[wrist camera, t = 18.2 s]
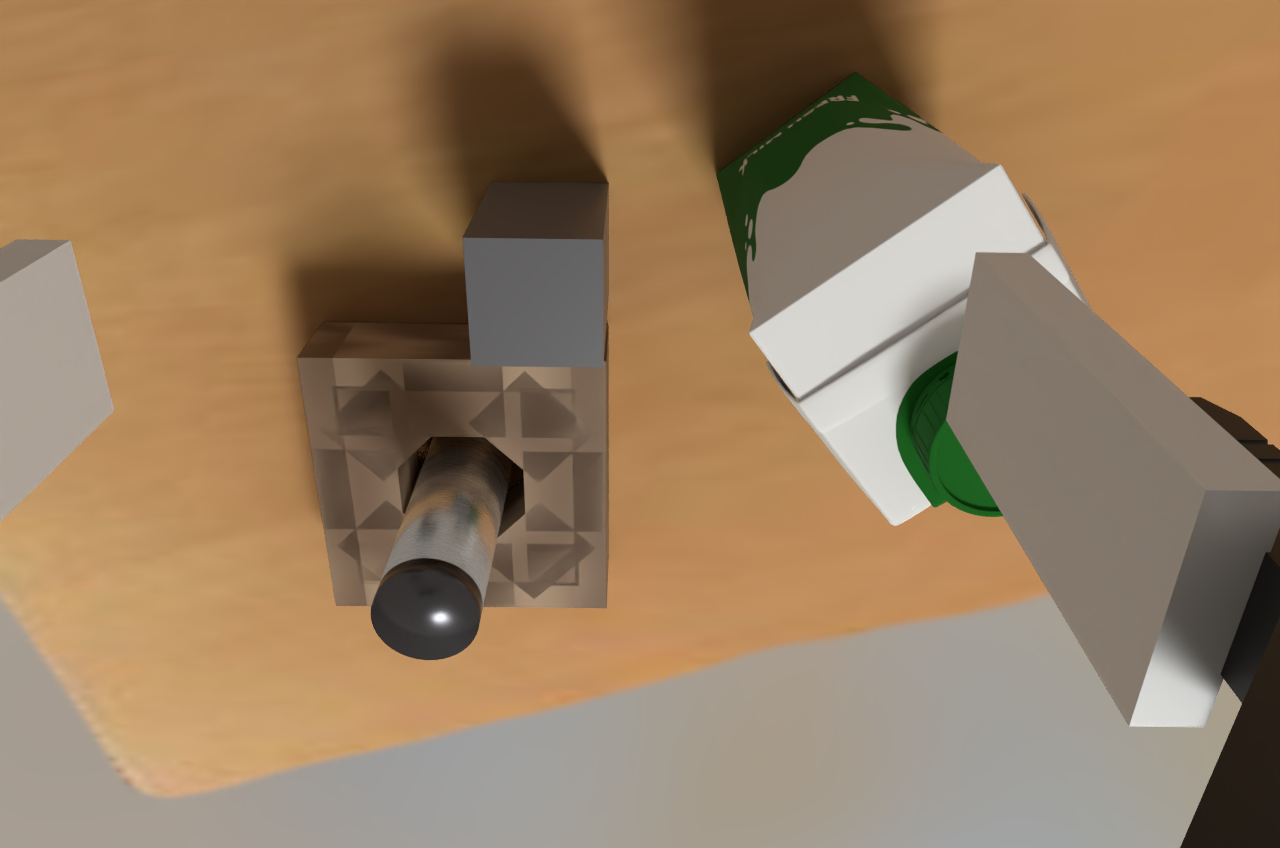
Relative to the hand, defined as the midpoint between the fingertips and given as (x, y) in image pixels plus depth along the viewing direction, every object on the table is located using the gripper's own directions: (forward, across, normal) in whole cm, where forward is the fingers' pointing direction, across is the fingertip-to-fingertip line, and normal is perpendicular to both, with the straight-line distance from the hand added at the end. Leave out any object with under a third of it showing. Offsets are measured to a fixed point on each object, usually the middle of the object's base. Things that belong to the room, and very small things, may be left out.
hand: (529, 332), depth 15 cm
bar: (+29, -2, -8) cm, 30 cm away
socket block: (+29, -6, -18) cm, 34 cm away
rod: (+29, -6, -18) cm, 34 cm away
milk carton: (+29, +10, -5) cm, 31 cm away
